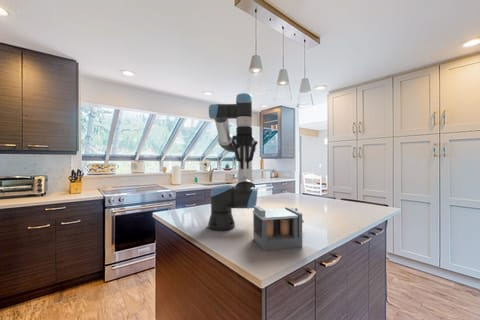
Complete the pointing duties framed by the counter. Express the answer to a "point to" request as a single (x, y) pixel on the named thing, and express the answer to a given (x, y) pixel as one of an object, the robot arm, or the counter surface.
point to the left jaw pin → (269, 228)
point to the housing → (278, 233)
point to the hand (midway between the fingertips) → (244, 175)
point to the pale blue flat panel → (273, 213)
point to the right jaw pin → (285, 227)
